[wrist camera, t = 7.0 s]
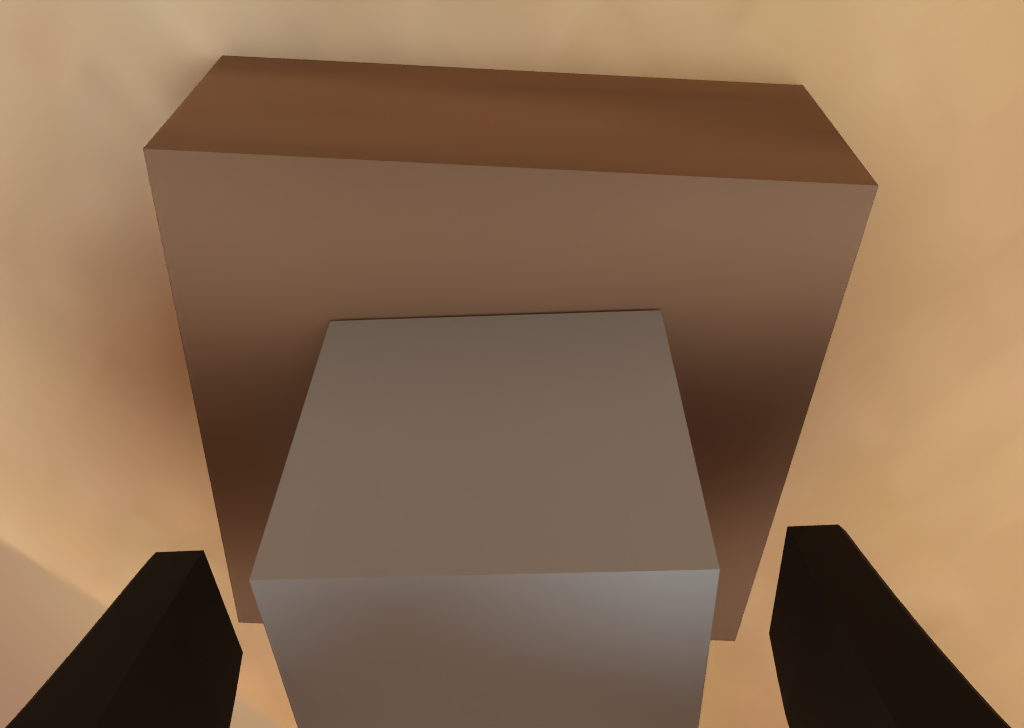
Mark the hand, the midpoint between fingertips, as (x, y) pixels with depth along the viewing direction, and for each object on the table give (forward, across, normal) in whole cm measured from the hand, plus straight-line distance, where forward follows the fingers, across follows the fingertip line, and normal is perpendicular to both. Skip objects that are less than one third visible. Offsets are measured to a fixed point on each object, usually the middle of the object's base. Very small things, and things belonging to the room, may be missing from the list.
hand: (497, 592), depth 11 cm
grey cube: (+3, 0, 0) cm, 3 cm away
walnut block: (+7, 0, 0) cm, 7 cm away
